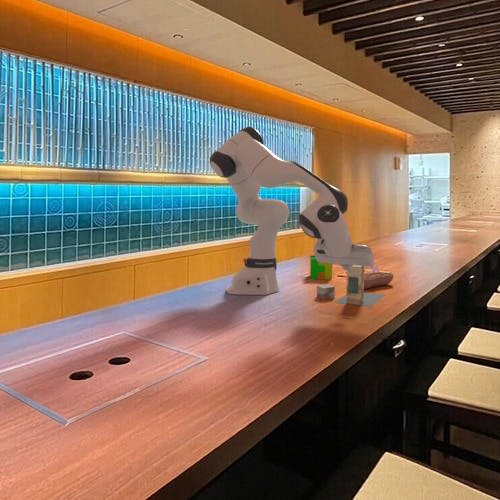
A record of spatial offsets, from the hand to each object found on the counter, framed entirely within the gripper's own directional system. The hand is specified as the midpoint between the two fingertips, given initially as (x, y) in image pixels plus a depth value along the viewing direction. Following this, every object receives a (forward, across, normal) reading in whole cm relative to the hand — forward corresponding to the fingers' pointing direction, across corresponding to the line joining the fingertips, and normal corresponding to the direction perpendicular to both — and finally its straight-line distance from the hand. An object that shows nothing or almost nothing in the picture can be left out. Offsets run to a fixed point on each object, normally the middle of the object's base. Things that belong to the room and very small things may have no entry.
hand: (348, 268), depth 168 cm
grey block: (+17, +12, +3) cm, 22 cm away
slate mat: (+21, 0, -1) cm, 21 cm away
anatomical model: (+40, +3, -19) cm, 44 cm away
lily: (+60, +12, -40) cm, 73 cm away
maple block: (+16, 0, +4) cm, 16 cm away
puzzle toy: (+47, +31, -27) cm, 62 cm away
